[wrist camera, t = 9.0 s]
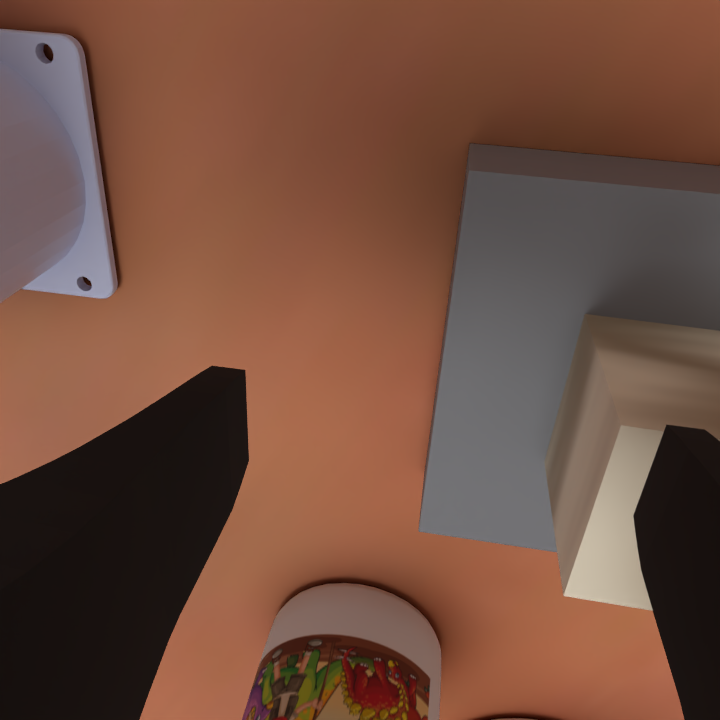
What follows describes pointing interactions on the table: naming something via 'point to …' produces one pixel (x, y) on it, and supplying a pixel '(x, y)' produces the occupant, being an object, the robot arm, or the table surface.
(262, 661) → the milk bottle
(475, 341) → the grey base
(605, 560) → the maple cube
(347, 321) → the table surface
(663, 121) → the table surface
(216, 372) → the robot arm
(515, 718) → the fruit juice
